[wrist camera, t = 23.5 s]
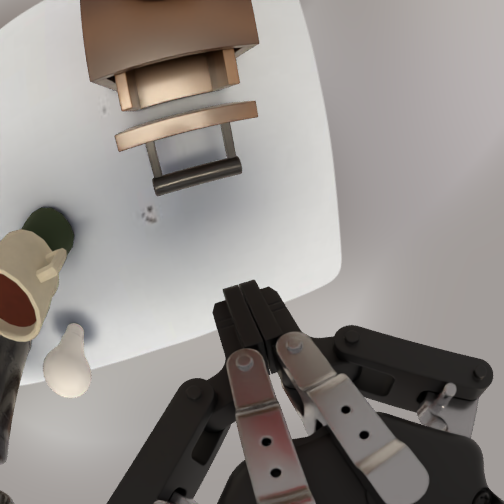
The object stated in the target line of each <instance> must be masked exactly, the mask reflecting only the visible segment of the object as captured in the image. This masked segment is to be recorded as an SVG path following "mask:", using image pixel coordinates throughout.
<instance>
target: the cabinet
mask: <svg viewBox="0 0 504 504" xmlns="http://www.w3.org/2000/svg"><path fill="white" fill-rule="evenodd" d="M80 8H81V20H82V30H83V39H84V47H85V54H86V61H87V67H88V73H89V78H90V82H93V83H95V84H98V85H101V86H104V87H107V88H109V89H112V90H115V91H117V87H116V82H115V76H114V75H117V74H120V73H123V72H126V71H129V70H132V69H135V68H139V67H142V66H146V65H149V64H153V63H157V62H161V61H165V60H169V59H173V58H178V57H182V56H187V55H192V54H198V53H204V52H210V51H216V50H223V49H231V48H234V52H235V58H237V57H239V56H240V55H242V54H243V53H245V52H246V51H248V50H250V49H251V48H253V47H254V46H256V45H258V44H259V39H258V33H257V28H256V22H255V17H254V12H253V7H252V2H251V0H80Z"/></svg>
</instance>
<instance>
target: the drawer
mask: <svg viewBox="0 0 504 504" xmlns="http://www.w3.org/2000/svg"><path fill="white" fill-rule="evenodd" d="M114 76H115V82H116V87H117V92H118V97H119V101H120V106H121V110H122V111H137V110H140V109H143V108H146V107H150V106H153V105H157V104H160V103H164V102H168V101H172V100H176V99H180V98H184V97H188V96H193V95H197V94H202V93H207V92H212V91H218V90H221V89H224V88H227V87H230V86H233V85H236V84H239V83H240V81H239V75H238V69H237V64H236V58H235V52H234V48H231V49H223V50H216V51H210V52H204V53H198V54H192V55H187V56H182V57H178V58H173V59H169V60H165V61H161V62H157V63H153V64H149V65H146V66H142V67H139V68H135V69H132V70H129V71H126V72H123V73H120V74H117V75H114ZM255 117H258V113H257V106H256V101H244V102H232V103H225V104H220V105H215V106H210V107H205V108H201V109H196V110H192V111H187V112H183V113H179V114H175V115H172V116H168V117H164V118H160V119H157V120H153V121H150V122H147V123H143V124H140V125H137V126H134V127H131V128H128V129H126V130H124V131H122V132H120V133H118V134H116V135H115V139H116V143H117V147H118V151H119V152H121V151H124V150H127V149H130V148H133V147H136V146H139V145H142V144H146V148H147V152H148V156H149V160H150V163H151V167H152V171H153V174H154V178H153V179H152V181H153V187H154V190H155V193H156V195H157V196H161V195H164V194H167V193H171V192H174V191H178V190H181V189H185V188H188V187H192V186H195V185H199V184H203V183H207V182H210V181H214V180H218V179H222V178H226V177H230V176H234V175H238V174H241V173H242V166H241V162H240V159H239V157H238V156H236V154H235V148H234V142H233V137H232V131H231V126H230V122H233V121H238V120H244V119H249V118H255ZM218 124H221V130H222V135H223V140H224V146H225V151H226V156H227V158H226V159H222V160H218V161H214V162H209V163H206V164H202V165H198V166H194V167H190V168H187V169H183V170H179V171H176V172H172V173H169V174H165V175H162V171H161V167H160V163H159V159H158V155H157V151H156V147H155V143H154V141H155V140H158V139H162V138H165V137H169V136H173V135H176V134H180V133H184V132H188V131H192V130H196V129H200V128H205V127H209V126H214V125H218Z"/></svg>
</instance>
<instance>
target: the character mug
mask: <svg viewBox="0 0 504 504" xmlns="http://www.w3.org/2000/svg"><path fill="white" fill-rule="evenodd" d="M73 240H74V234H73V231H72V228H71V226H70V224H69V222H68V221H67V220H66V219H65V217H64V216H63V215H62V214H61V213H59V212H58V211H56V210H54V209H53V208H42V207H41V208H40V209H38V210H36V211H35V212H33V213H32V214H31V215H30V217H29V218H28V219H27V221H26V222H25V224H24V226H23V227H22V229H19V230H16V231H12V232H9V233H8V234H7V235H6V236H5V237H4V238H3V239H2V240H1V241H0V335H2V336H4V337H5V338H8V339H11V340H14V341H19V342H26V341H31V340H32V339H34V338H35V337H36V336H37V335H38V334H39V332H40V329H41V327H42V324H43V321H44V319H45V317H46V315H47V313H48V310H49V308H50V304H51V300H52V297H53V296H54V294H55V293H56V291H57V289H58V285H59V272H60V270H61V268H62V266H63V264H64V262H65V260H66V258H67V255H68V253H69V252H70V250H71V249H72V247H73Z"/></svg>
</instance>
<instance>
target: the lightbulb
mask: <svg viewBox="0 0 504 504" xmlns="http://www.w3.org/2000/svg"><path fill="white" fill-rule="evenodd" d="M83 338H84V330H83V328H82V327H81V326H80V325H78V324H76V323H71V324H69V325H68V326H67V329H66V332H65V334H64V335H63V336H62V339H61V341H60V343H59V344H58V346H57V347H55V348H54V349H52V350H51V351H50V352H49V353H48V354H47V356H46V358H45V359H44V363H43V373H44V378H45V380H46V382H47V384H48V385H49V387H50V388H51V389H52V390H53V391H54V392H55V393H57V394H58V395H60V396H62V397H66V398H76V397H79V396H81V395H82V394H84V393H85V392H86V391H87V389H88V388H89V386H90V383H91V369H90V366H89V364H88V361H87V359H86V357H85V354H84V341H83Z"/></svg>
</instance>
